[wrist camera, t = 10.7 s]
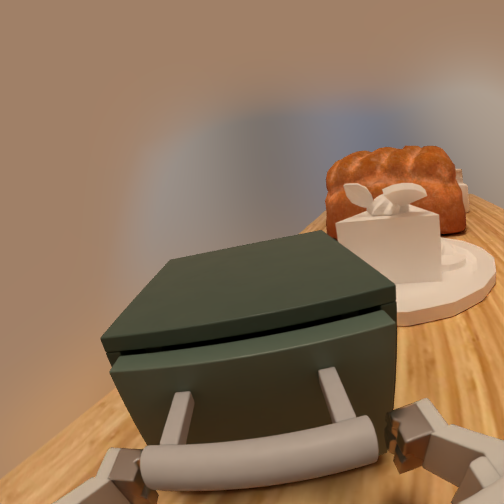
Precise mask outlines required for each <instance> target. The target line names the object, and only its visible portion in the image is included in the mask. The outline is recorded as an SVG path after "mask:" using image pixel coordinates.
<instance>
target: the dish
mask: <svg viewBox="0 0 504 504" xmlns="http://www.w3.org/2000/svg"><path fill="white" fill-rule="evenodd" d="M343 186H344V190H345V193H346V196H347V197H348V199H349V200H350V201H351V203H353V204H355V205H358V206H360V207H364V208H367V211H365V212H362V213H360V214H357V215H355V216H352V217H349V218H347V219H344V220H342V221H339V222H337V223H335V224H336V231H337V238H338V242H339V243H340V244H342V245H343V246H344V247H346V248H347V249H349V250H350V251H351V252H353V253H354V254H356V255H357V256H358V257H360V258H361V259H362V260H364V261H365V262H366V263H368V264H369V265H371V266H372V267H373V268H375V269H376V270H377V271H379V272H380V273H381V274H383V275H384V276H385V277H387V278H388V279H389V280H391V281H392V282H393V283H394V284H395V285H396V302H397V326H411V325H416V324H420V323H425V322H430V321H434V320H439V319H443V318H447V317H452V316H455V315H456V314H458V313H460V312H462V311H464V310H466V309H468V308H470V307H472V306H473V305H475V304H477V303H479V302H481V301H482V300H484V298H485V297H486V296H487V294H488V293H489V292H490V290H491V289H492V287H493V286H494V285H495V282H496V267H495V261H494V257H492V256H491V255H490V254H489V253H488V252H486V251H485V250H484V249H483V248H481V247H479V246H476V245H473V244H470V243H468V242H465V241H461V240H455V239H448V238H442V237H441V236H440V221H439V214H436V213H433V212H430V211H427V210H424V209H422V208H419V207H416V206H413V205H410V203H412V202H415V201H417V200H419V199H422V198H424V197H426V196H427V193H426V190H425V189H424V188H423V187H422V186H421V185H417V184H414V183H399V184H394V185H391V186H388V187H386V188H384V189H382V191H383V194H381V195H379V196H377V197H376V198H375V199H374V201H373V198H372V195H371V193H370V192H369V190H368V189H367V188H366V187H365V186H362V185H360V184H358V183H348V184H344V185H343Z"/></svg>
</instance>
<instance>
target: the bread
mask: <svg viewBox="0 0 504 504" xmlns="http://www.w3.org/2000/svg"><path fill="white" fill-rule="evenodd" d="M348 183H358V184H360V185H362V186H365V187H366V188H367V189H368V190H369V192H370V193H371V195H372V198H373V201H374V199H375V198H376V197H377V196H379V195H381V194H383V191H382V189H384V188H386V187H388V186H391V185H394V184H399V183H414V184H417V185H421V186H422V187H423V188H424V189H425V190H426V193H427V196H426V197H424V198H422V199H419V200H417V201H415V202H412V203H410V205H413V206H416V207H419V208H422V209H424V210H427V211H430V212H433V213H436V214H439V221H440V234H450V233H456V232H462V231H463V230H464V229H465V227H466V213H465V207H464V204H463V196H462V190H461V188H460V186H459V184H458V182H457V180H456V170H455V165H454V164H453V163H452V161H451V160H450V158H449V156H448V155H447V154H446V153H445V151H444V150H443V149H441V148H439V147H437V146H424V147H423V148H420V147H419V146H405V147H404V148H403V149H396V148H391V147H384V148H379V149H377V150H375V151H374V152H369V151H359V152H355V153H352V154H350V155H348V156H347V157H344V158H343V159H341V160H338V161H337V162H335V163H334V165H333V166H332V167H331V168H330V169H329V171H328V172H327V177H326V186H327V190H328V194H327V197H326V200H325V203H326V211H327V220H326V227H327V234H328V235H329V236H331V237H333V238H335V239H338V238H337V231H336V224H335V223H337V222H339V221H342V220H344V219H347V218H349V217H352V216H355V215H357V214H360V213H362V212H365V211H367V208H364V207H360V206H358V205H355V204H353V203H351V201H350V200H349V199H348V197H347V196H346V193H345V190H344V186H343V185H344V184H348Z"/></svg>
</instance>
